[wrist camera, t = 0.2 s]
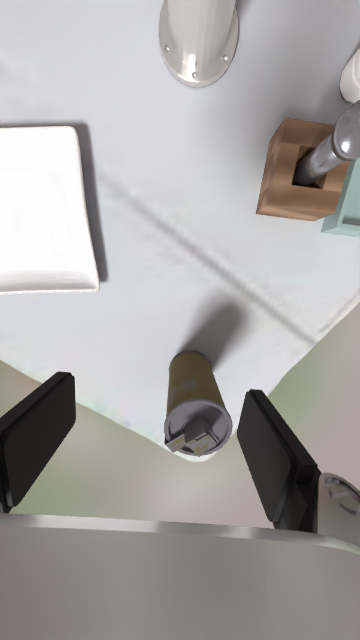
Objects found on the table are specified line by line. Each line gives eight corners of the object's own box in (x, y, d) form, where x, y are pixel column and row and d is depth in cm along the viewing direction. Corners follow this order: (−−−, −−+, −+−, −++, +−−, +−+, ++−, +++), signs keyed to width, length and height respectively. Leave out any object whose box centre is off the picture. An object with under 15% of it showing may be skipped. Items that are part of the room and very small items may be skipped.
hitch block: (269, 141, 32) (286, 117, 27) (332, 150, 33) (359, 129, 28) (255, 213, 35) (268, 203, 30) (313, 221, 36) (334, 212, 31)
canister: (195, 342, 42) (211, 400, 22) (219, 373, 44) (252, 451, 24) (159, 366, 43) (144, 441, 24) (183, 396, 45) (188, 486, 26)
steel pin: (285, 161, 32) (348, 94, 20) (314, 165, 33) (393, 101, 21) (278, 195, 34) (332, 151, 22) (306, 199, 34) (375, 158, 22)
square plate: (-18, 295, 39) (-39, 297, 35) (-64, 144, 32) (-96, 126, 28) (106, 290, 39) (98, 292, 35) (86, 139, 32) (73, 121, 28)
